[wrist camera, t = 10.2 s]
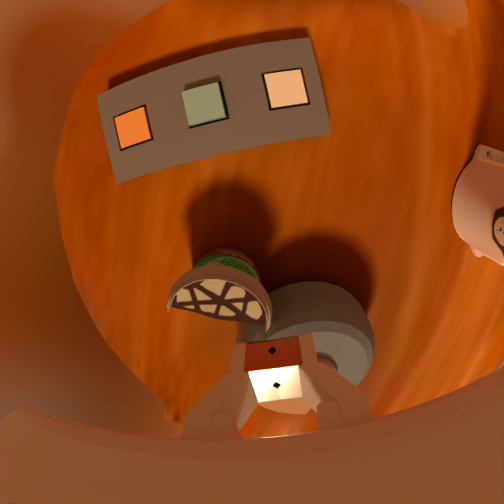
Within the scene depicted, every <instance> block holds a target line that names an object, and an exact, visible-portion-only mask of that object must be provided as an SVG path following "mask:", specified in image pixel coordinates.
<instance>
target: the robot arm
mask: <svg viewBox="0 0 504 504" xmlns="http://www.w3.org/2000/svg"><path fill="white" fill-rule="evenodd" d="M452 217H453V223H454V227H455V229H456V232H457V233H458V235H459V236H460V238H461V239H462V240H463V241H465V242H466V243H467V244H469V246H470V248H471V250H472V253H473V254H474V255H475V256H477V257H481V256H483V255H485V256H487V257H489V258H490V259H492V260H494V261H495V262H497V263H499V264H500V265H502V266H504V152H502V151H500V150H497V149H494V148H491V147H488V146H485V145H482V144H480V145H478V146H477V148H476V150H475V153H474V156H473V159H472V160H471V162H470V163H469V164H468V165H467V166H466V168H465V169H464V170H463V172H462V173H461V175H460V177H459V179H458V181H457V184H456V187H455V190H454V194H453V201H452ZM297 397H302V398H303V399H304V400H305V401H306V402H307V403H308V404H309V405H310V406H311V407H312V408H313V409H314V410H315V411H316V413H317V423H318V431H314V432H308V433H301V434H294V435H286V436H276V437H265V438H251V439H243V437H242V435H241V433H240V429H241V428H242V426H243V425H244V424H245V422H246V421H247V419H248V418H249V416H250V415H251V413H252V412H253V410H254V409H255V407H256V406H257V405H258V402H265V401H272V400H279V399H289V398H297ZM0 504H504V366H503V367H501V368H500V369H498V370H496V371H494V372H492V373H490V374H488V375H487V376H485V377H483V378H481V379H479V380H477V381H475V382H473V383H471V384H468V385H466V386H464V387H462V388H460V389H457V390H455V391H453V392H451V393H448V394H446V395H443V396H441V397H438V398H436V399H433V400H431V401H428V402H425V403H423V404H420V405H417V406H414V407H411V408H408V409H405V410H402V411H399V412H396V413H393V414H389V415H386V416H382V417H379V418H375V419H372V416H371V412H370V409H369V406H368V402H367V399H366V396H365V393H364V392H363V391H361V390H360V389H359V388H357V387H356V386H354V385H353V384H352V383H350V382H349V381H347V380H346V379H345V378H343V377H342V376H341V375H339V374H338V373H336V372H335V371H334V370H332V369H331V368H330V367H328V366H327V365H326V364H324V363H323V362H318V360H317V355H316V350H315V346H314V341H313V336H312V334H311V333H307V334H301V335H297V336H291V337H285V338H279V339H272V340H263V341H254V342H247V343H236V344H234V345H233V346H232V354H231V362H230V370H229V374H225V375H224V376H223V377H222V378H221V379H220V380H219V381H218V382H217V383H216V384H215V385H214V386H213V387H212V388H211V389H210V390H209V391H208V392H207V393H206V394H205V395H204V396H203V397H202V398H201V399H200V400H199V401H198V402H197V403H196V404H195V405H194V406H193V407H192V408H191V409H190V410H189V411H188V412H187V414H186V419H185V423H184V427H183V432H182V436H181V439H178V438H165V437H154V436H144V435H136V434H129V433H122V432H116V431H109V430H105V429H99V428H94V427H90V426H85V425H81V424H77V423H73V422H69V421H65V420H61V419H58V418H54V417H51V416H48V415H44V414H41V413H38V412H35V411H32V410H29V409H25V408H21V409H18V410H16V411H15V412H13V413H12V414H10V415H9V416H7V417H6V418H5V419H4V420H2V421H1V422H0Z"/></svg>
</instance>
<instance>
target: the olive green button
mask: <svg viewBox="0 0 504 504" xmlns="http://www.w3.org/2000/svg"><path fill="white" fill-rule="evenodd" d="M182 97H183V102H184V106H185V111H186V115H187V119H188V124H189V126H195V125H198V124H202V123H206V122H210V121H214V120H218V119H222V118H227V114H226V110H225V105H224V101H223V97H222V92H221V88H220V85H219V83H218V82H216V83H212V84H208V85H204V86H200V87H197V88H193V89H190V90H186V91H183V92H182Z"/></svg>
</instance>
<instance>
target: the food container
mask: <svg viewBox="0 0 504 504" xmlns="http://www.w3.org/2000/svg"><path fill="white" fill-rule="evenodd" d="M171 307H174V308H177V309H184V310H188V311H192V312H196V313H199V314H202V315H205V316H209V317H212V318H215V319H221V320H230V321H239V322H245V323H251V324H256V325H261V326H265V329H266V332H267V329H269V327H270V324H271V319H272V304H271V301H270V298H269V295H268V294H267V292H266V290H265V289H264V287H263V286H262V284H261V279H260V274H259V269H258V267H257V265H256V263H255V262H254V260H253V259H252V258H251V257H250V256H249V255H248V254H247V253H246V252H244V251H242V250H240V249H238V248H234V247H229V246H221V247H216V248H213V249H211V250H209V251H207V252H206V253H204V254H203V255H202V256H201V257H200V258H199V260H198V261H197V262H196V264H195V265H194V266H193V268H192V269H191V270H190V271H188V272H186V273H185V274H183V275H182V276H181V277H180V278H179V279H178V280H177V281H176V282H175V283H174V285H173V287H172V288H171V291H170V293H169V298H168V304H167V308H168V312H169V310H170V309H171Z"/></svg>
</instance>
